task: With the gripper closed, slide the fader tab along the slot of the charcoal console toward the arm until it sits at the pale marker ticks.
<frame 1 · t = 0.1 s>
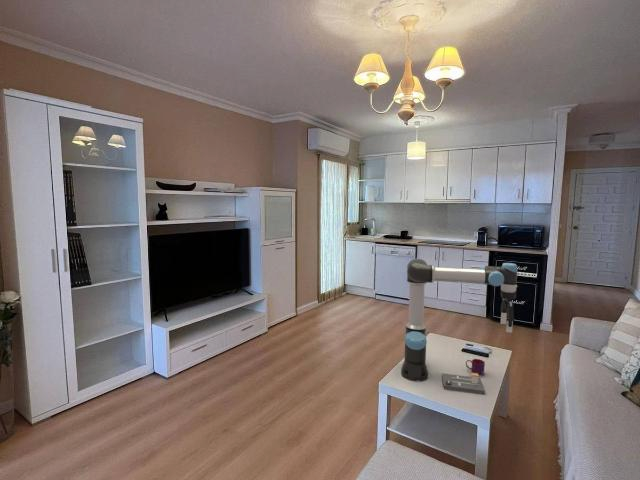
hand: (506, 327, 197), 28 cm above the table, fingers open, 13 cm apart
console: (462, 385, 188), on the table
fader: (474, 378, 186), point 5 cm above the table, slide at 0.0 cm
mug: (474, 372, 203), on the table
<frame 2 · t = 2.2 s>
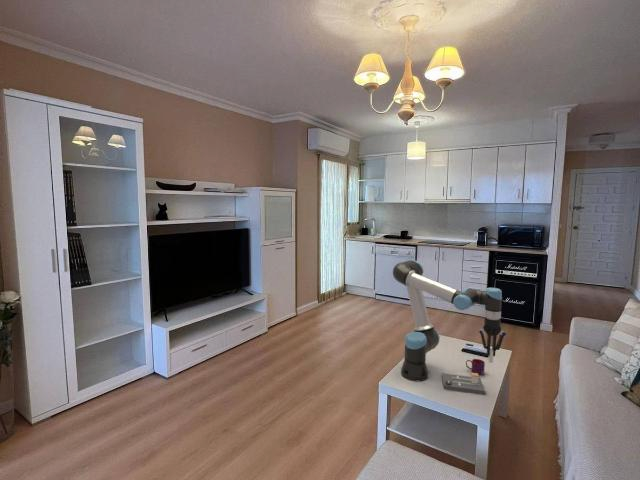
hand: (490, 361, 183), 15 cm above the table, fingers closed
nothing on the table moved.
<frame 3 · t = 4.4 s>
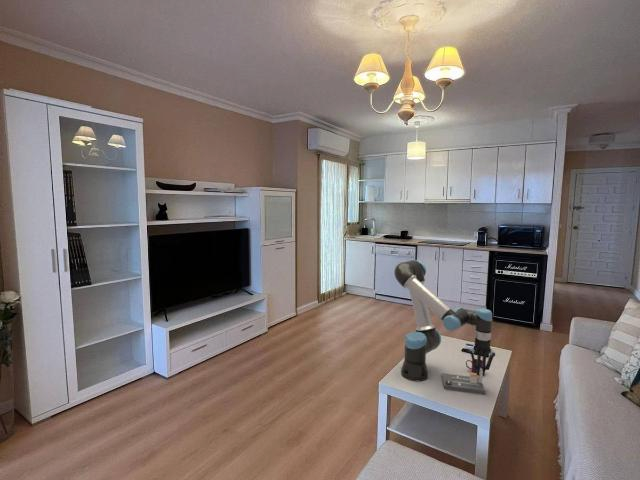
hand: (480, 381, 186), 3 cm above the table, fingers closed
fader: (473, 378, 186), point 5 cm above the table, slide at 0.7 cm, touching gripper
everything else where it was.
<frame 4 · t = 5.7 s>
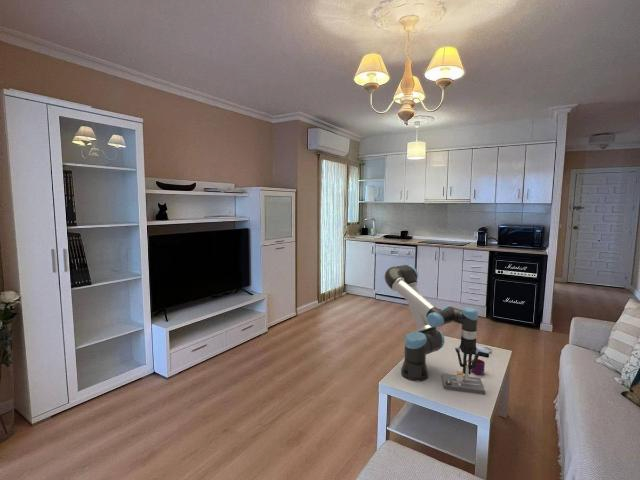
hand: (466, 379, 188), 3 cm above the table, fingers closed
fader: (459, 376, 188), point 5 cm above the table, slide at 7.6 cm, touching gripper
everything else where it was.
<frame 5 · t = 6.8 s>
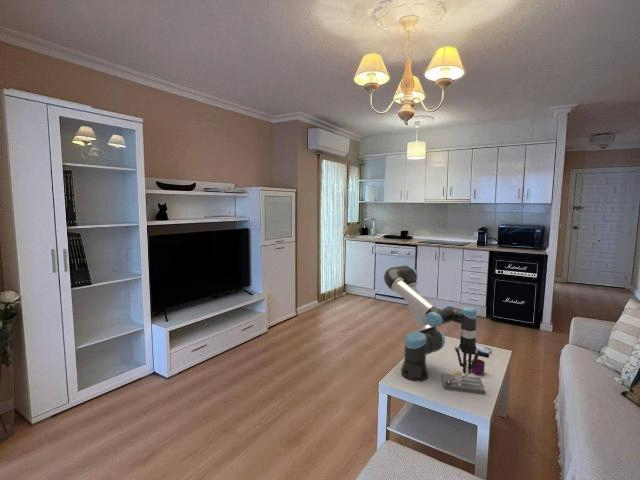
hand: (466, 379, 187), 4 cm above the table, fingers closed
fader: (458, 376, 188), point 5 cm above the table, slide at 8.4 cm
everything else where it was.
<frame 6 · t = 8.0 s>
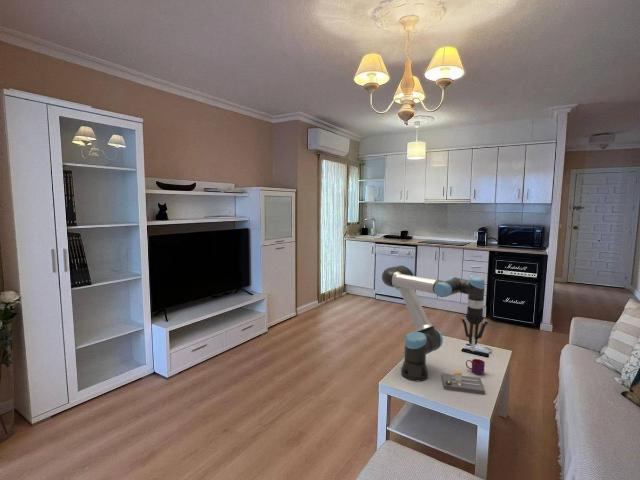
hand: (472, 349, 185), 20 cm above the table, fingers closed
nothing on the table moved.
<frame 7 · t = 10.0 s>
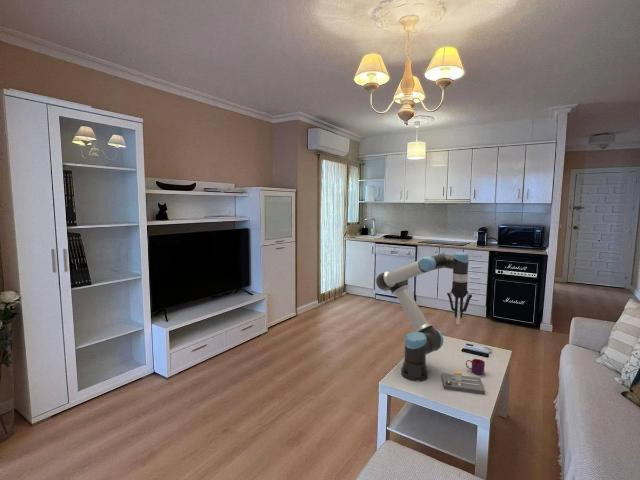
hand: (458, 323, 190), 32 cm above the table, fingers closed
nothing on the table moved.
at the end: fader slide at 8.4 cm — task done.
